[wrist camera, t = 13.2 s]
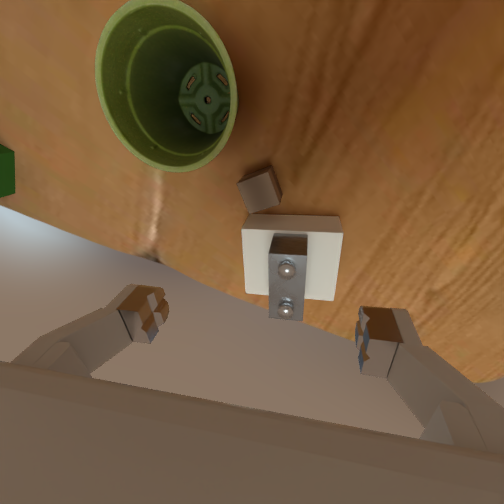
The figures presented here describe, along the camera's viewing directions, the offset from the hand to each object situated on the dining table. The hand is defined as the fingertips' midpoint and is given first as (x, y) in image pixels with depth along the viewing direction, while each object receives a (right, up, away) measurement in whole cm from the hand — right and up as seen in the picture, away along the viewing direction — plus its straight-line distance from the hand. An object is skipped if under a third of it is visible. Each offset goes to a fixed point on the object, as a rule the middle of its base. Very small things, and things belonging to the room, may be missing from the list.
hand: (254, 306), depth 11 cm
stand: (+6, +3, +27) cm, 27 cm away
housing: (+5, +1, +22) cm, 23 cm away
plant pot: (-5, +20, +19) cm, 29 cm away
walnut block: (+1, +11, +23) cm, 26 cm away
